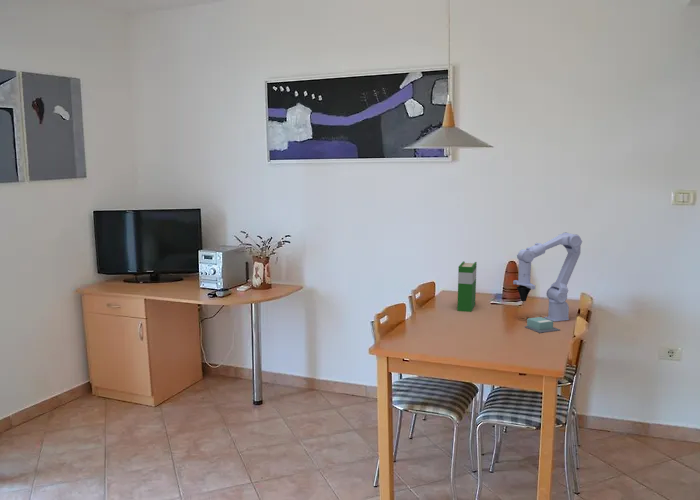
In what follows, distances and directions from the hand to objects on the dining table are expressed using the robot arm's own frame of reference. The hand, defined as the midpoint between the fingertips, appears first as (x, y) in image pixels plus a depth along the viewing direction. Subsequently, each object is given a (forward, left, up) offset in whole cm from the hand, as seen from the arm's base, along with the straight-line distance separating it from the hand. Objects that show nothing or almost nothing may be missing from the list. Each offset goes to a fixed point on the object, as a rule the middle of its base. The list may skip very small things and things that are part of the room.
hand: (523, 301), depth 301 cm
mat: (0, +15, -10) cm, 18 cm away
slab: (0, +8, -8) cm, 12 cm away
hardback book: (+10, -35, -11) cm, 38 cm away
